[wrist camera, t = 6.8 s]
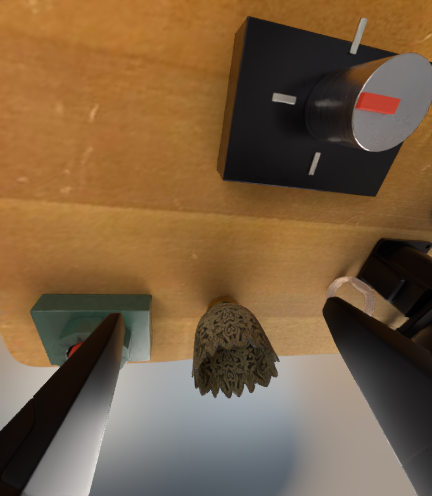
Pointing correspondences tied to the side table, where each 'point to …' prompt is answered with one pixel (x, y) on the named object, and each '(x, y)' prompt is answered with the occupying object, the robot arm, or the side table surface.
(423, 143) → the side table surface
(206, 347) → the cup
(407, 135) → the knob
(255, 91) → the panel
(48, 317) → the green block with collar
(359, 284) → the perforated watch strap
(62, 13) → the side table surface
